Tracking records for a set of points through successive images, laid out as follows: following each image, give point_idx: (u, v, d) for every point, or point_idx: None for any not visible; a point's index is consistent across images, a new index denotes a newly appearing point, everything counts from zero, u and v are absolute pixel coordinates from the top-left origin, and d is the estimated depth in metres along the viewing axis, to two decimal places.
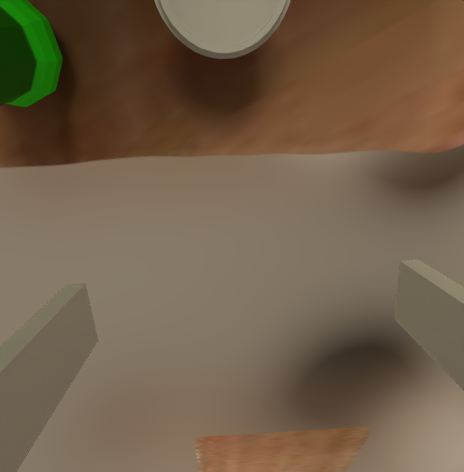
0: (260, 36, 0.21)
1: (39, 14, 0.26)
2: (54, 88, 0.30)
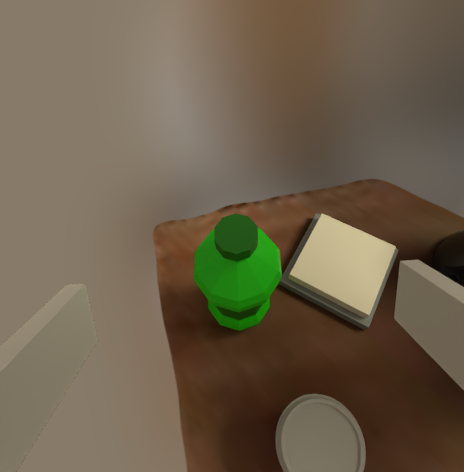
0: None
1: (260, 320, 0.46)
2: (221, 325, 0.46)
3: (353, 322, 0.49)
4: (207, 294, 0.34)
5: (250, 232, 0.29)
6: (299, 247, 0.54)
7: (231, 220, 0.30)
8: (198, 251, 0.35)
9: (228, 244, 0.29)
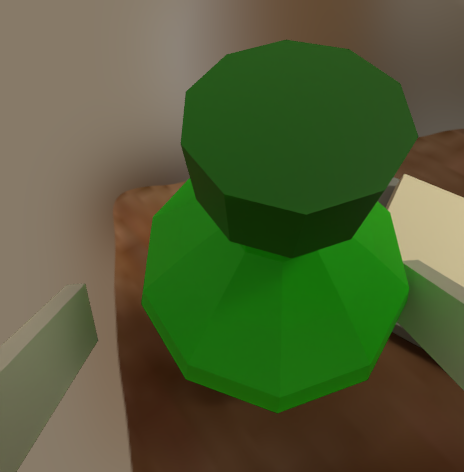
0: None
1: None
2: None
3: None
4: (177, 360, 0.11)
5: (369, 109, 0.06)
6: None
7: (268, 64, 0.06)
8: (155, 225, 0.12)
9: (256, 164, 0.05)
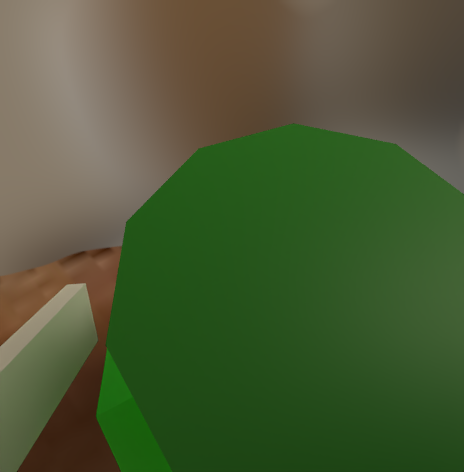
0: None
1: None
2: None
3: None
4: None
5: (448, 269, 0.03)
6: None
7: (266, 170, 0.04)
8: None
9: (249, 404, 0.03)
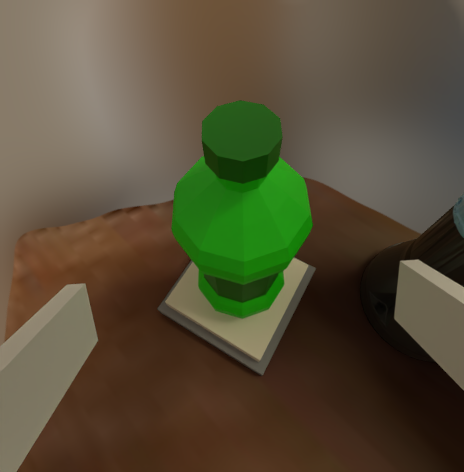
0: None
1: (271, 304, 0.33)
2: (217, 310, 0.33)
3: (246, 366, 0.37)
4: (193, 252, 0.21)
5: (267, 127, 0.16)
6: (190, 264, 0.42)
7: (232, 110, 0.17)
8: (179, 186, 0.22)
9: (227, 146, 0.15)
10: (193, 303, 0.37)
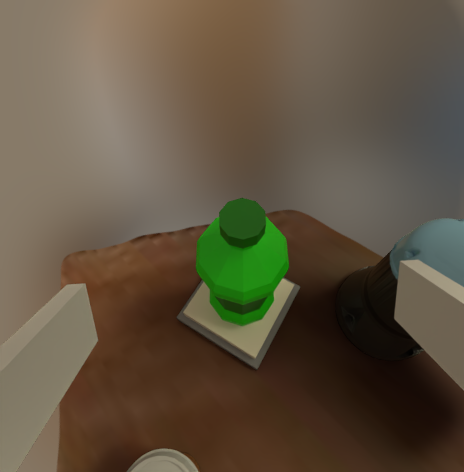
0: None
1: (264, 315, 0.44)
2: (224, 320, 0.44)
3: (245, 362, 0.48)
4: (210, 285, 0.32)
5: (257, 217, 0.27)
6: (201, 282, 0.53)
7: (237, 205, 0.28)
8: (201, 240, 0.33)
9: (234, 229, 0.27)
10: (205, 313, 0.49)
